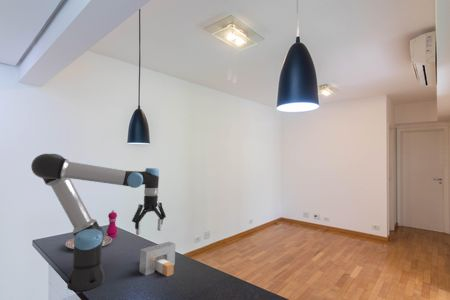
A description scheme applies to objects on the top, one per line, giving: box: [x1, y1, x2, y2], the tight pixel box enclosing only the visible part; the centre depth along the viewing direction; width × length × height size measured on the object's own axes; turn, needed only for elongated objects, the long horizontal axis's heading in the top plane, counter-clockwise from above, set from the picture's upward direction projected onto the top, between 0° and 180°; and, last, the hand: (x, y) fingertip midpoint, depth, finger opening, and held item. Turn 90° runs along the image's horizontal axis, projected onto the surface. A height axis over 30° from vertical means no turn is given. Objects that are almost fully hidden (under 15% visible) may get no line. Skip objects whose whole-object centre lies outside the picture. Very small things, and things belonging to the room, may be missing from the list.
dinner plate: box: [64, 235, 113, 250], centre depth 164 cm, size 27×27×3 cm
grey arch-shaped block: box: [138, 241, 176, 276], centre depth 133 cm, size 6×18×12 cm, turn 138°
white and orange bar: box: [155, 256, 175, 277], centre depth 133 cm, size 24×4×5 cm, turn 48°
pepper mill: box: [106, 209, 118, 239], centre depth 183 cm, size 7×7×20 cm
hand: (148, 232), depth 139 cm, fingers open, 13 cm apart
